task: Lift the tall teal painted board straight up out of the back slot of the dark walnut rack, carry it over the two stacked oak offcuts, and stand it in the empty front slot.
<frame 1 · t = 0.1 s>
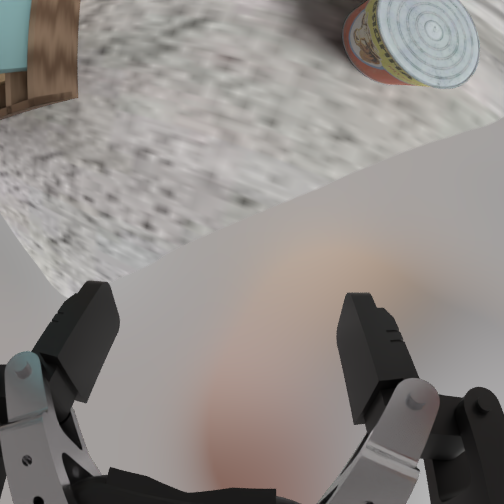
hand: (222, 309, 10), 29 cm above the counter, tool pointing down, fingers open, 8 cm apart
rack: (31, 36, 26), on the counter
teal board: (58, 21, 24), point 1 cm above the counter, touching rack
canned food: (385, 43, 28), on the counter
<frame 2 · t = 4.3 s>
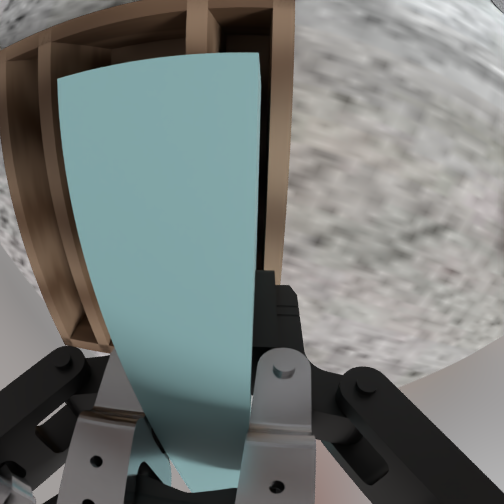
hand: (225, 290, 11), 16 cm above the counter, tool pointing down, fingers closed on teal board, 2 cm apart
rack: (168, 172, 24), on the counter
teal board: (245, 177, 23), point 2 cm above the counter, touching gripper
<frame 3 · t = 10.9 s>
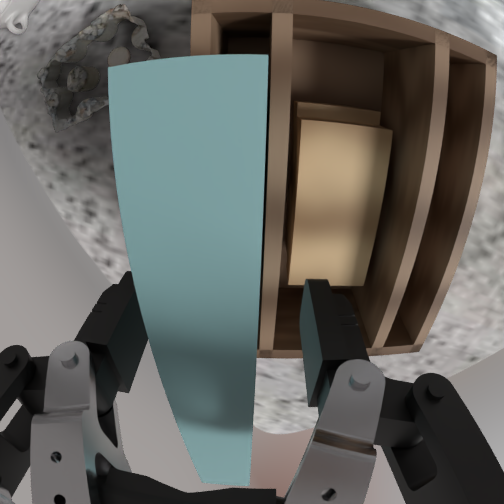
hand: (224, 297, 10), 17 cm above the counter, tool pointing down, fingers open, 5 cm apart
egg carton: (106, 70, 21), on the counter
rack: (323, 172, 25), on the counter
oak offcut upper: (331, 199, 22), point 4 cm above the counter, touching oak offcut lower
teacup: (30, 4, 16), on the counter
teal board: (247, 172, 24), point 1 cm above the counter, touching rack
oak offcut lower: (326, 177, 24), point 1 cm above the counter, touching oak offcut upper, rack
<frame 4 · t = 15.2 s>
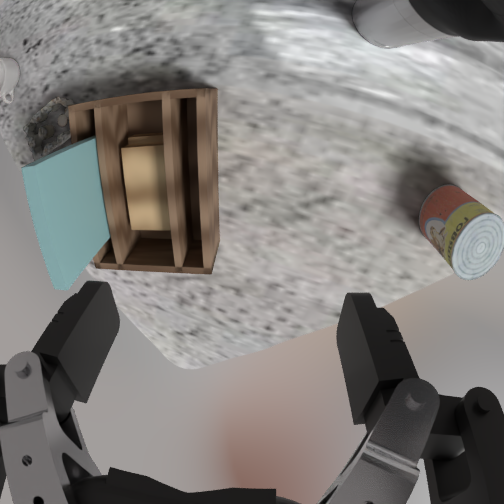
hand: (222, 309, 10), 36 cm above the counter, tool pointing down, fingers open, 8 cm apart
egg carton: (58, 125, 40), on the counter
rack: (159, 170, 44), on the counter
oak offcut upper: (151, 184, 41), point 4 cm above the counter, touching oak offcut lower
teacup: (14, 80, 34), on the counter
teal board: (118, 173, 43), point 1 cm above the counter, touching rack
canned food: (444, 214, 46), on the counter
oak offcut lower: (156, 172, 43), point 1 cm above the counter, touching oak offcut upper, rack
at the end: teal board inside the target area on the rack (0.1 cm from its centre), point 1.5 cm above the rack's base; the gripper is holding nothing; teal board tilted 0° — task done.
